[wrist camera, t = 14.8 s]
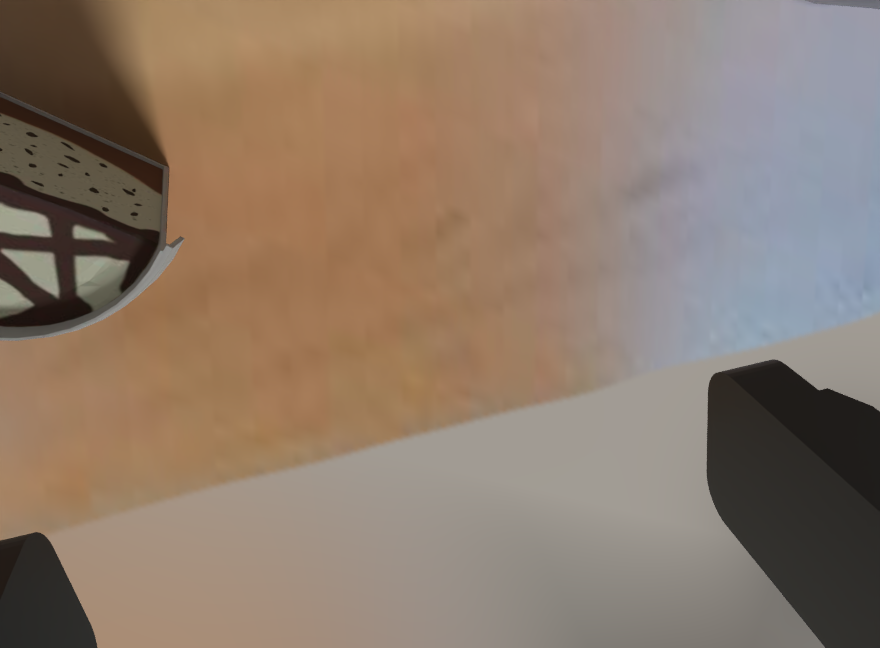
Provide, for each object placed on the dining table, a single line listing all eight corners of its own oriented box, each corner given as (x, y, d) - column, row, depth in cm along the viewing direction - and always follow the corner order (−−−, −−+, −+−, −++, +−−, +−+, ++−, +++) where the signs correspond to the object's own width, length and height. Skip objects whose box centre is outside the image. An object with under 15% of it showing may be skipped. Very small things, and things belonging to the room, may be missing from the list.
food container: (-144, 183, 32) (-302, 268, 23) (-102, 45, 30) (-257, 79, 21) (151, 296, 36) (113, 404, 28) (201, 181, 35) (178, 257, 26)
